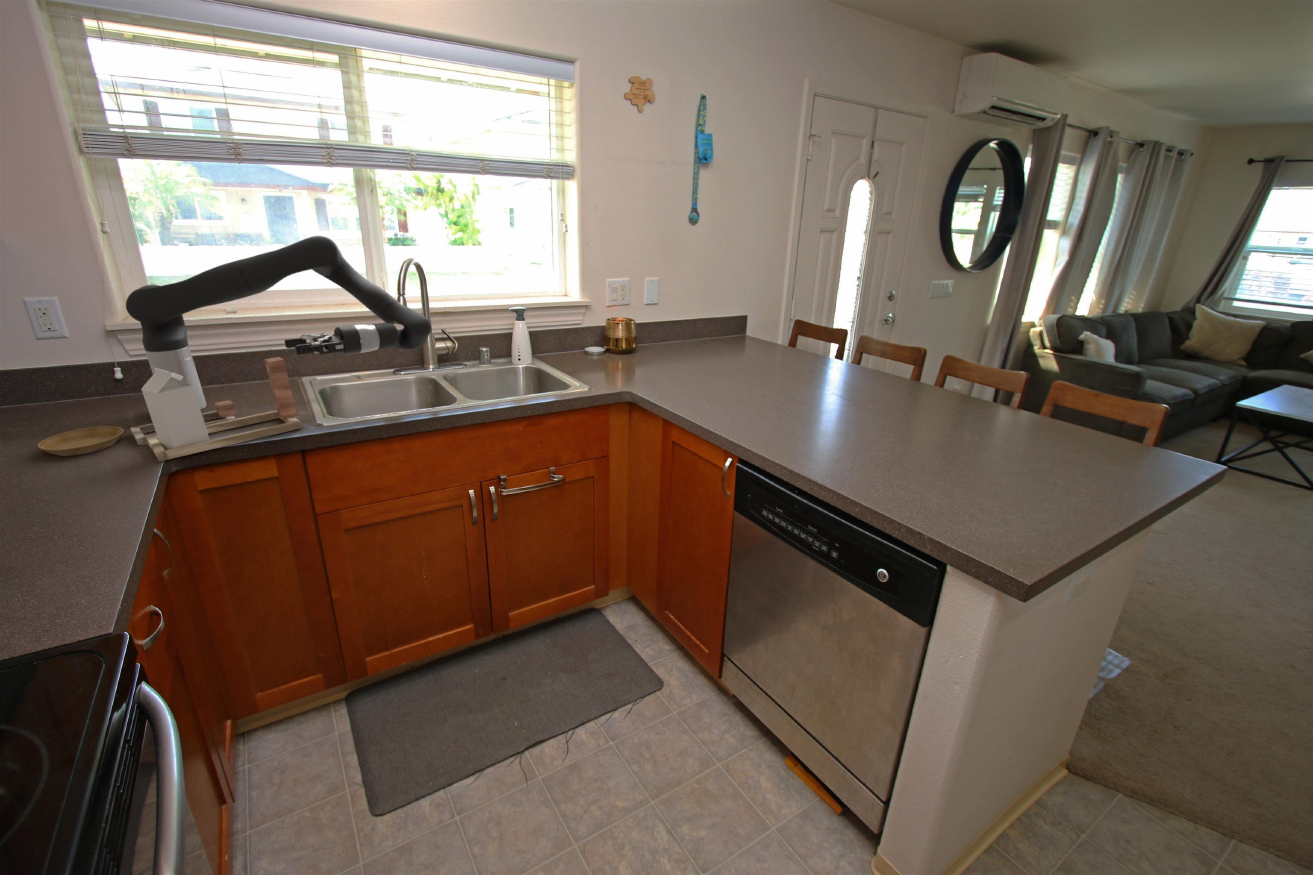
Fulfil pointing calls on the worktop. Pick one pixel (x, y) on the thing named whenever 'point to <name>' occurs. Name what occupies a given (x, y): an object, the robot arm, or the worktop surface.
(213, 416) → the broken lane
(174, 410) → the milk carton
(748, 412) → the worktop surface
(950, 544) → the worktop surface
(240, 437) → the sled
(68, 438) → the plant saucer
